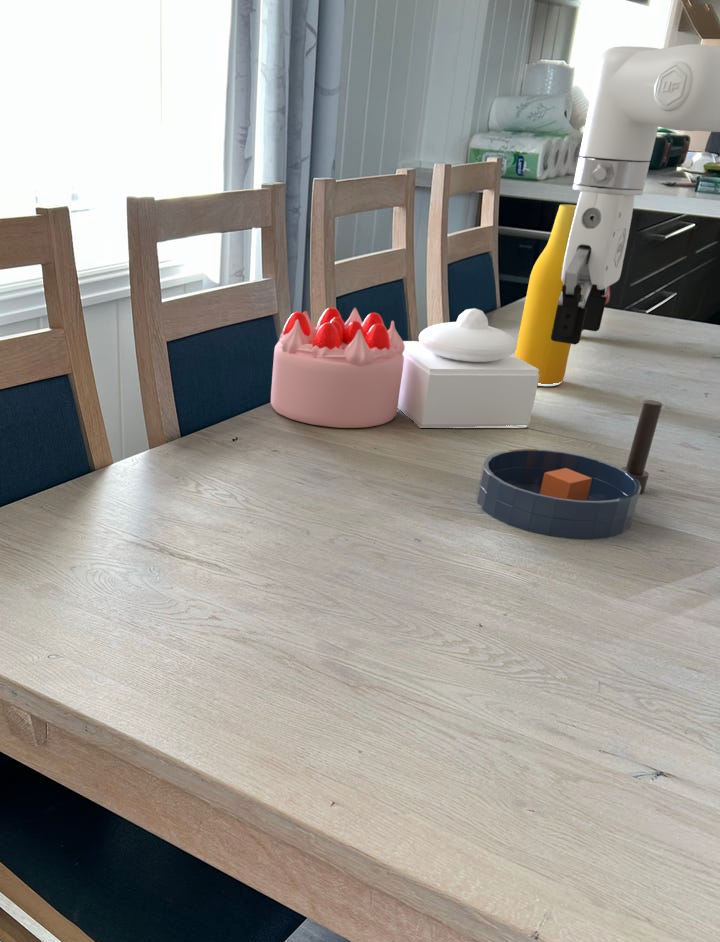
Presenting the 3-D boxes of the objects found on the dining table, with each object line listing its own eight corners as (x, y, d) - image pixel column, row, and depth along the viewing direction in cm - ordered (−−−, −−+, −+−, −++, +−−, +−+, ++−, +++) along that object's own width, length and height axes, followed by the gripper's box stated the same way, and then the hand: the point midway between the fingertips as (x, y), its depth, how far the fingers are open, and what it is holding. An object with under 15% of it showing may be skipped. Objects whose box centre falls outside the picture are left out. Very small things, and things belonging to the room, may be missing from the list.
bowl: (661, 526, 117) (672, 487, 114) (561, 555, 108) (572, 513, 105) (543, 477, 130) (551, 441, 127) (445, 499, 120) (452, 461, 118)
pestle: (648, 496, 126) (674, 404, 120) (631, 500, 124) (656, 407, 118) (625, 486, 128) (649, 396, 122) (608, 491, 127) (631, 400, 121)
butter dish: (421, 429, 145) (438, 319, 138) (381, 395, 161) (395, 295, 153) (528, 428, 149) (551, 321, 141) (480, 395, 164) (498, 297, 156)
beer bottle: (559, 377, 179) (597, 205, 164) (565, 390, 171) (605, 211, 156) (508, 372, 180) (541, 201, 165) (511, 384, 172) (547, 206, 157)
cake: (371, 392, 162) (383, 303, 155) (415, 429, 145) (430, 332, 138) (257, 392, 158) (263, 301, 151) (288, 431, 141) (297, 330, 134)
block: (584, 509, 119) (592, 478, 117) (563, 514, 117) (570, 483, 115) (558, 498, 121) (566, 467, 119) (537, 503, 119) (544, 472, 117)
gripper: (628, 183, 99) (589, 353, 108) (659, 178, 113) (623, 329, 121) (555, 177, 103) (523, 342, 111) (594, 172, 116) (562, 320, 124)
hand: (575, 335), depth 116 cm, fingers open, 9 cm apart
